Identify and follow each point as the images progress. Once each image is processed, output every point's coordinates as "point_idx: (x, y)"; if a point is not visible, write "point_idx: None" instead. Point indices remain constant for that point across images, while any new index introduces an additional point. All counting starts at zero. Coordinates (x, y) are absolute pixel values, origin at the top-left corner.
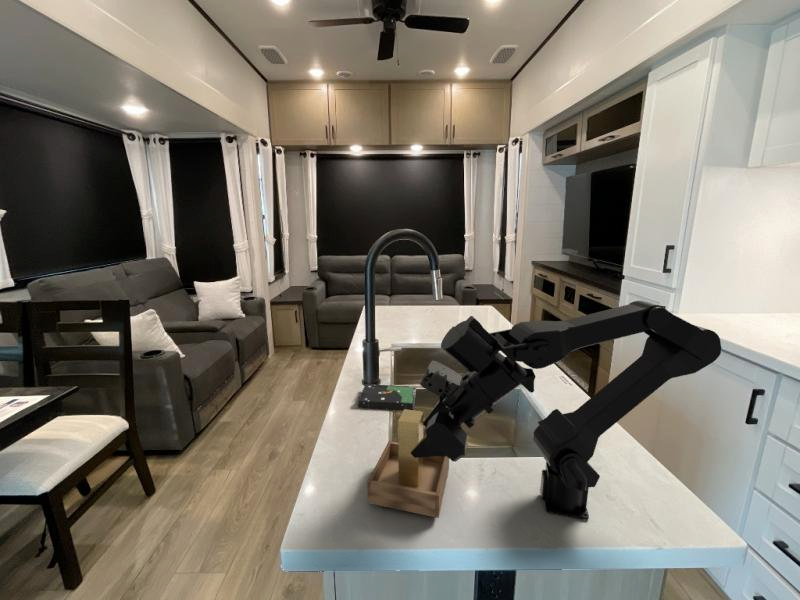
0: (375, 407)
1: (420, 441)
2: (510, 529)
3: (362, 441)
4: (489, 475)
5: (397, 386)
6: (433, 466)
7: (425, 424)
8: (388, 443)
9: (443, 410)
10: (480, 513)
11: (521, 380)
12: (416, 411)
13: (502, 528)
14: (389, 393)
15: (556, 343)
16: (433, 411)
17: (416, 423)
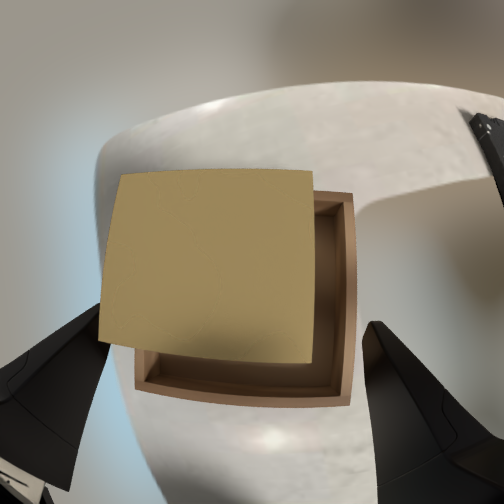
0: (486, 152)
1: (43, 350)
2: (190, 489)
3: (387, 144)
4: (340, 465)
5: None
6: (313, 353)
7: (367, 336)
8: (340, 195)
9: (407, 463)
10: (214, 452)
11: None
12: (301, 291)
13: (188, 479)
14: None
15: None
16: (407, 400)
17: (100, 322)
